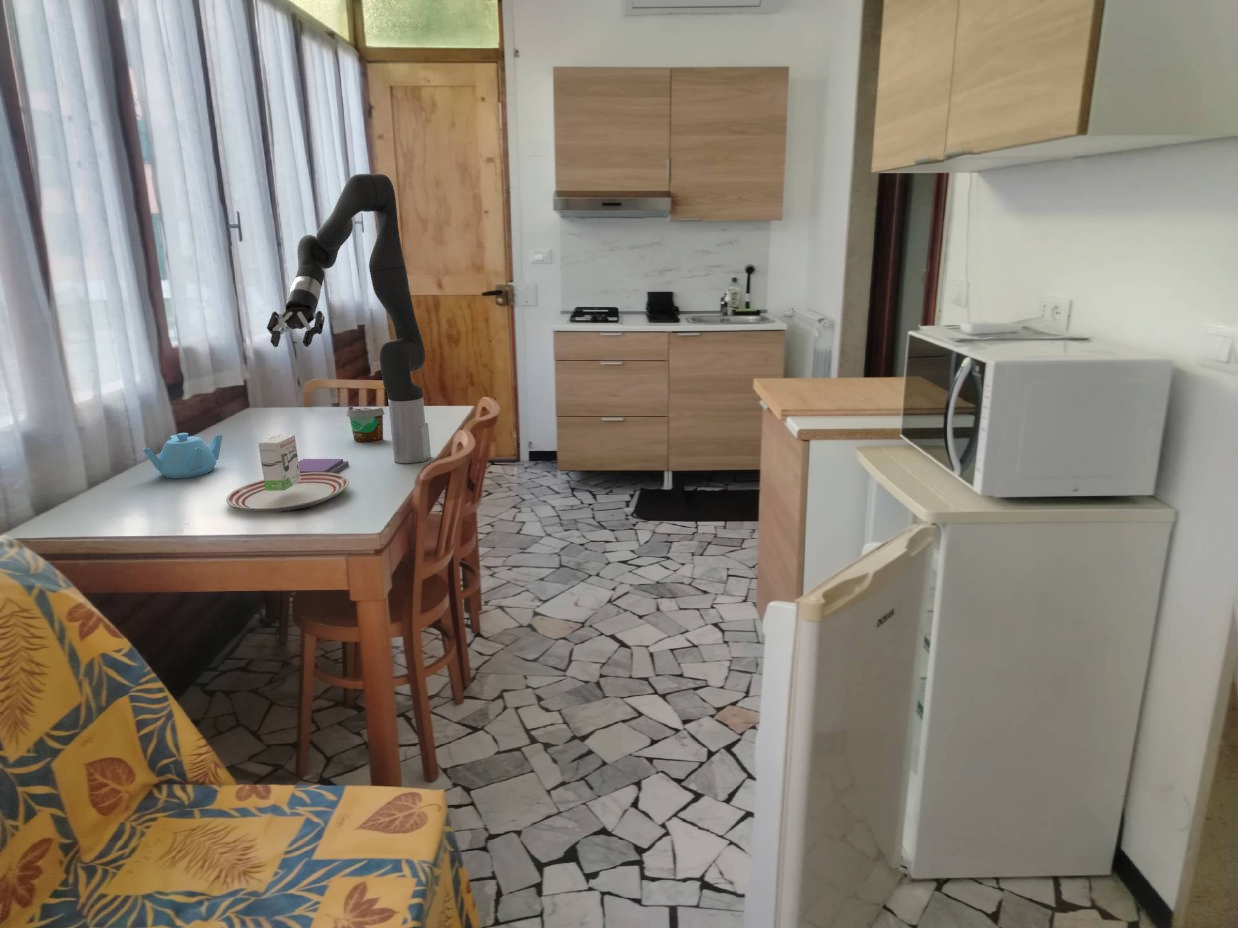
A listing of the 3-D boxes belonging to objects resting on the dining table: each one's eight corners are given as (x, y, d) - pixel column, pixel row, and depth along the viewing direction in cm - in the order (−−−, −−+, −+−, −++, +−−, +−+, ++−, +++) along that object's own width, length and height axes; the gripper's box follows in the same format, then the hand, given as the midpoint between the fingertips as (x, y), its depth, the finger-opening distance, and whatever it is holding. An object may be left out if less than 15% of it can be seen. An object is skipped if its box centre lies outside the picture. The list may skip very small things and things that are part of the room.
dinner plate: (218, 526, 183) (216, 512, 182) (236, 490, 208) (234, 478, 207) (349, 511, 190) (347, 498, 189) (351, 479, 215) (350, 466, 214)
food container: (340, 441, 252) (337, 409, 249) (354, 437, 258) (350, 405, 255) (374, 444, 248) (370, 411, 245) (387, 439, 253) (383, 407, 250)
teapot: (230, 464, 231) (224, 426, 228) (204, 479, 216) (198, 439, 213) (176, 465, 231) (169, 427, 228) (146, 481, 216) (138, 441, 214)
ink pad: (348, 465, 226) (347, 457, 225) (326, 480, 213) (325, 472, 212) (302, 465, 227) (301, 457, 227) (278, 480, 214) (276, 472, 213)
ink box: (284, 491, 195) (277, 442, 192) (264, 491, 196) (257, 442, 193) (301, 480, 203) (295, 433, 200) (282, 480, 204) (276, 433, 201)
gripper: (273, 288, 224) (257, 336, 216) (323, 287, 223) (310, 336, 215) (285, 306, 231) (270, 354, 223) (334, 305, 229) (321, 353, 221)
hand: (289, 345), depth 219 cm, fingers open, 8 cm apart
